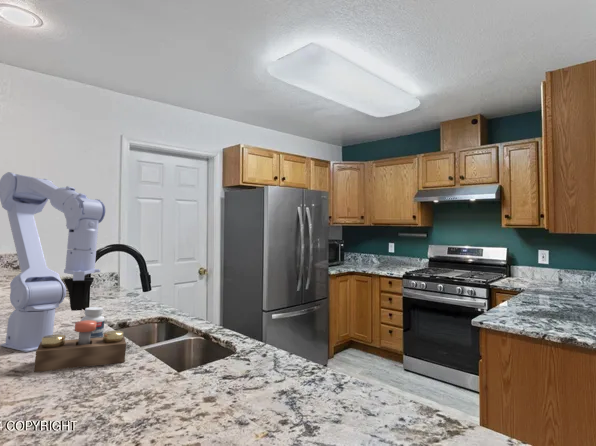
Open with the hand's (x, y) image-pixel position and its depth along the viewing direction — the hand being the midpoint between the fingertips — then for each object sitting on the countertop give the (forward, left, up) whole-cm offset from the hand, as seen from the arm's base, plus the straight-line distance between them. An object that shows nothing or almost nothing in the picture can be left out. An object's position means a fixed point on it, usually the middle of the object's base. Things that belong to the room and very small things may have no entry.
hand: (76, 310), depth 77 cm
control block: (+4, -1, -10) cm, 11 cm away
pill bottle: (-6, +9, -11) cm, 15 cm away
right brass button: (+8, +3, -10) cm, 13 cm away
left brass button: (+1, -5, -10) cm, 11 cm away
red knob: (+4, -1, -7) cm, 9 cm away
